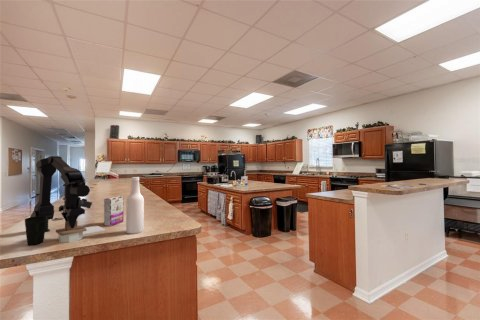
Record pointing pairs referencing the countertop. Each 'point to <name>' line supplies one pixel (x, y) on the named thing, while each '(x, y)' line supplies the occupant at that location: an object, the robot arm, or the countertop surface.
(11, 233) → the countertop surface
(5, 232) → the countertop surface
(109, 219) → the candy bar box
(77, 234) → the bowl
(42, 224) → the cup
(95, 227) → the mat
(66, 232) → the lid
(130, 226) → the alcohol
